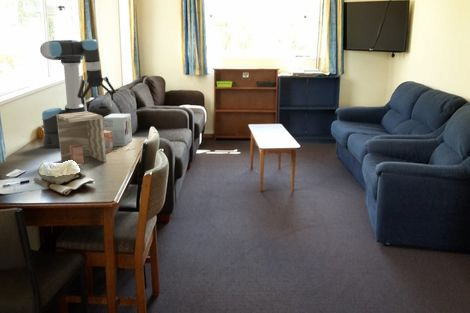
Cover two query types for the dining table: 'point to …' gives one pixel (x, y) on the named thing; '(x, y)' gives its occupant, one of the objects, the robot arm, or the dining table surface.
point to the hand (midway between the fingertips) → (98, 108)
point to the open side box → (81, 134)
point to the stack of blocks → (108, 141)
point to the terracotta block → (77, 153)
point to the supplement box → (119, 128)
